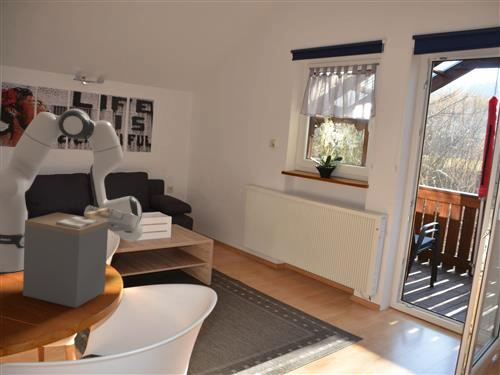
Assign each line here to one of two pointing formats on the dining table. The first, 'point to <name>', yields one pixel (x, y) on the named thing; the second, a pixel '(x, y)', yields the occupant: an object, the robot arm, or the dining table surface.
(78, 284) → the grey box
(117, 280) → the dining table surface
